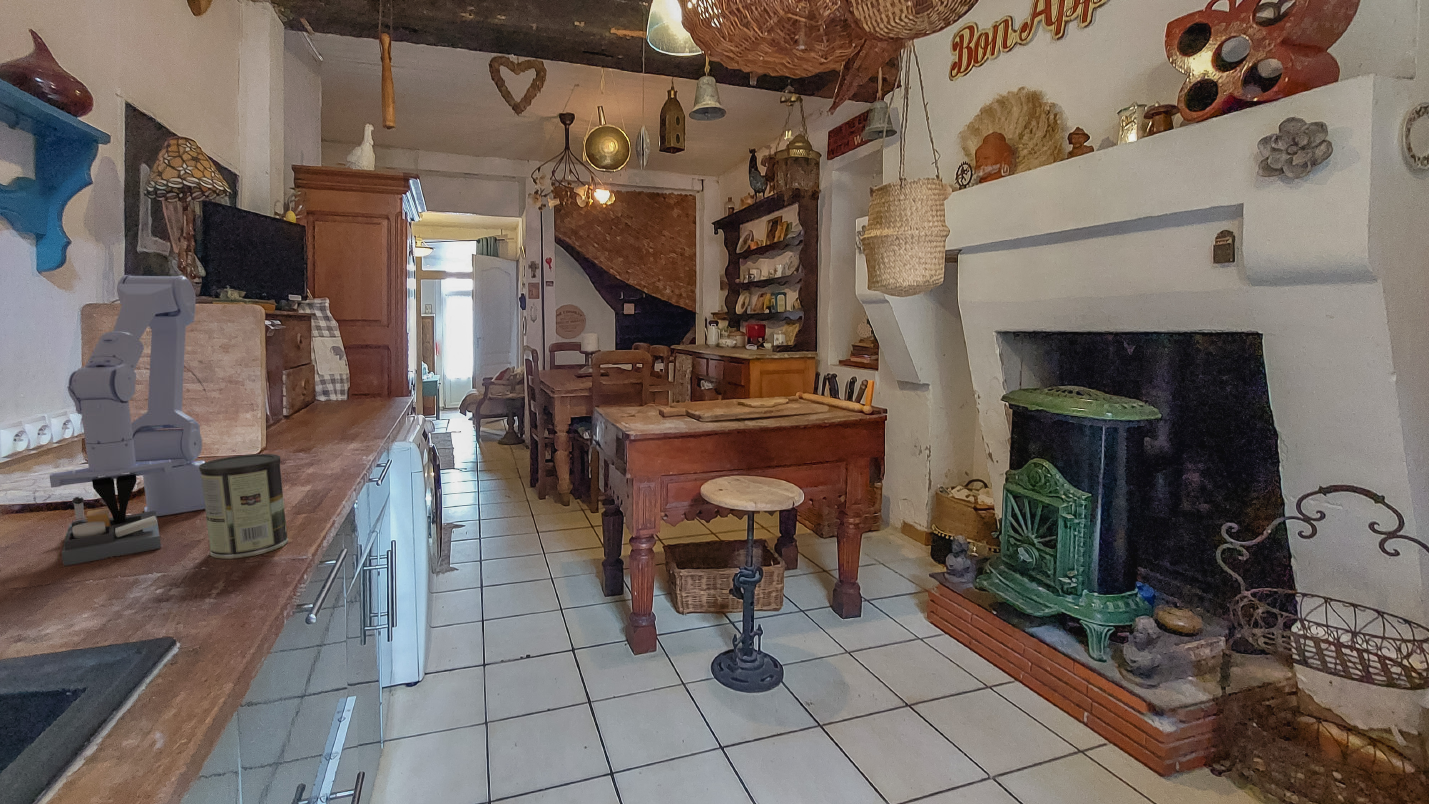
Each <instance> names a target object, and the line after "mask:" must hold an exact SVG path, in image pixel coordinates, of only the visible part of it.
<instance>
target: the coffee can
mask: <svg viewBox="0 0 1429 804" xmlns="http://www.w3.org/2000/svg"><path fill="white" fill-rule="evenodd" d="M280 462H281V456H280V455H278V454H271V453H255V454H254V453H253V454H245V455H244V454H243V455H234V456H229V457H221V458H218V459H213V460H209V461H205V463H203V464H201V465H200V466H199V469H200V471H201V478H202V486H203V494H204V502H205V509H204V510H205V517H206V525H207V526H206V527H207V535H208V542H209V551H210V552H209V555H210V556H211V557H212V558H217V559H224V560H225V559H229V560H230V559H241V558H242V559H243V558H247V557H253V556H254V557H255V556H257V555H258V556H259V555H262V554H266V553H269V552H272V551H276V550H277V549H279V548H280V549H281V548H282V547H284V546H285V545H286V544H287V543H288V542H289V538H288V531H287V522H286V512H285V504H284V493H283V491H284V490H283V483H282V474H281V463H280Z"/></svg>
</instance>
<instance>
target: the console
mask: <svg viewBox="0 0 1429 804" xmlns="http://www.w3.org/2000/svg"><path fill="white" fill-rule="evenodd" d="M152 516H155V517H156V511H151V512H145V511H144V512H139V513H132V514H126V517H125V519H126V522H124V523H118V524H115V523H114V519H113V516H112V517H110V524H111V526H106V527H105V530H106V532H105V533H104V534H101V535H97V536H91V537H85V538H74V536H73V529H72V527H74V526H76V525H79V524H83V523H87V518H84V519H77V520H76V519H75V520H72V522H71V523H69V524H68V528H67V531H66V533H65V536H64V540H63V545H62V546H63V547H62V550H61V556H62V557H61V558H62V564H63V566H64V567H65V566H71V565H76V564H81V563H82V564H83V563H87V562H92V561H97V560H98V561H99V560H104V558H105V559H108V558H107V557H110V558H114V557H113V556H116V557H120V555H121V556H125V555H132V554H137V553H141V552H148V551H153V550H159V549H162V547H161V537H160V536H161V535H160V531H159V524H158V522H157V525H154V526H151V527H148V528H145V529H142V530H138V531H135V532H132V533H129V534H126V535H123V536H120V537H117V536H116V534H115V528H118V527H121V526H124V525H127V524H130V523H133V522H136V521H139V520H143V519H146V518H149V517H152ZM156 519H157V520H158V516H157V517H156Z"/></svg>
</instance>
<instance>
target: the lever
mask: <svg viewBox="0 0 1429 804" xmlns="http://www.w3.org/2000/svg"><path fill="white" fill-rule="evenodd" d="M84 502H85V500H84V498H83V497H81V496H76V497H74V498H72V504H73V506H74V515H75V520H82V519H85V512H84Z"/></svg>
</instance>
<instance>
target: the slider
mask: <svg viewBox="0 0 1429 804" xmlns="http://www.w3.org/2000/svg"><path fill="white" fill-rule="evenodd" d="M110 518H111V517H110V510H109V508H108V507H106V508H99V509H93V510H88V511H87V512H86V518H85V519H87V523H88V522H97V521H102V522H105V527H106V526H111V524H110Z"/></svg>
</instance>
